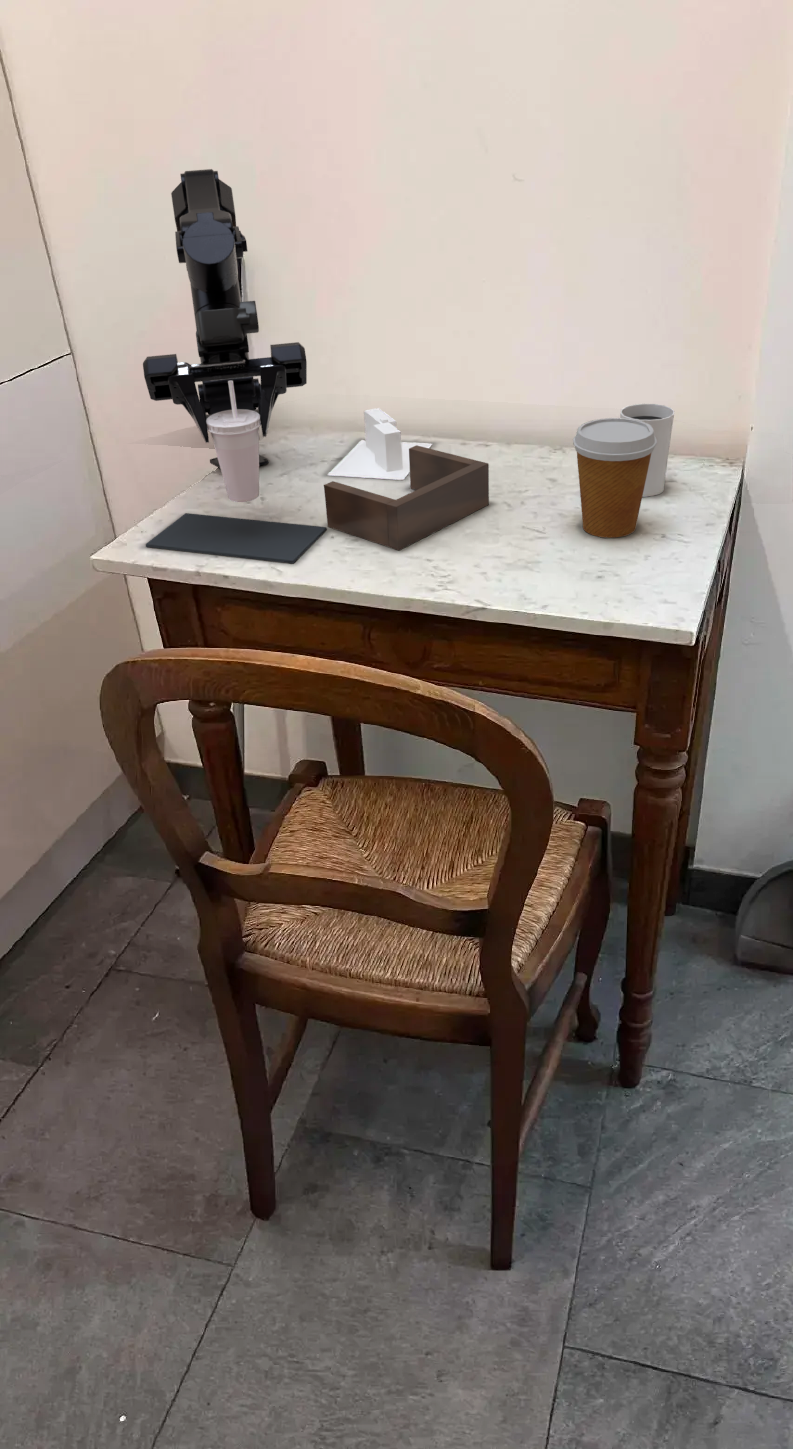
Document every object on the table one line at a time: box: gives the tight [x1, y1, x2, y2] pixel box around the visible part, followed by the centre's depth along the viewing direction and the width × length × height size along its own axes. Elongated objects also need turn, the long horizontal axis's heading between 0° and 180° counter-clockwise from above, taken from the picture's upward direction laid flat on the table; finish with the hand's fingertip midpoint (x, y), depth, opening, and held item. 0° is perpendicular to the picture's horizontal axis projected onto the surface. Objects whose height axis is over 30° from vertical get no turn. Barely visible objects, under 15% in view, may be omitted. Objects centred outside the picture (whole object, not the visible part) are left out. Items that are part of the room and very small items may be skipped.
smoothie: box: [206, 380, 261, 503], centre depth 125 cm, size 6×6×14 cm
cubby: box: [323, 445, 490, 551], centre depth 133 cm, size 12×17×6 cm
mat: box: [145, 512, 328, 564], centre depth 131 cm, size 20×10×1 cm, turn 70°
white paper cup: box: [619, 403, 675, 498], centre depth 135 cm, size 7×7×10 cm
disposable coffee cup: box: [572, 417, 657, 539], centre depth 125 cm, size 10×10×12 cm
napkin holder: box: [327, 407, 433, 481], centre depth 151 cm, size 15×11×6 cm
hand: (235, 438), depth 124 cm, fingers closed on smoothie, 6 cm apart
